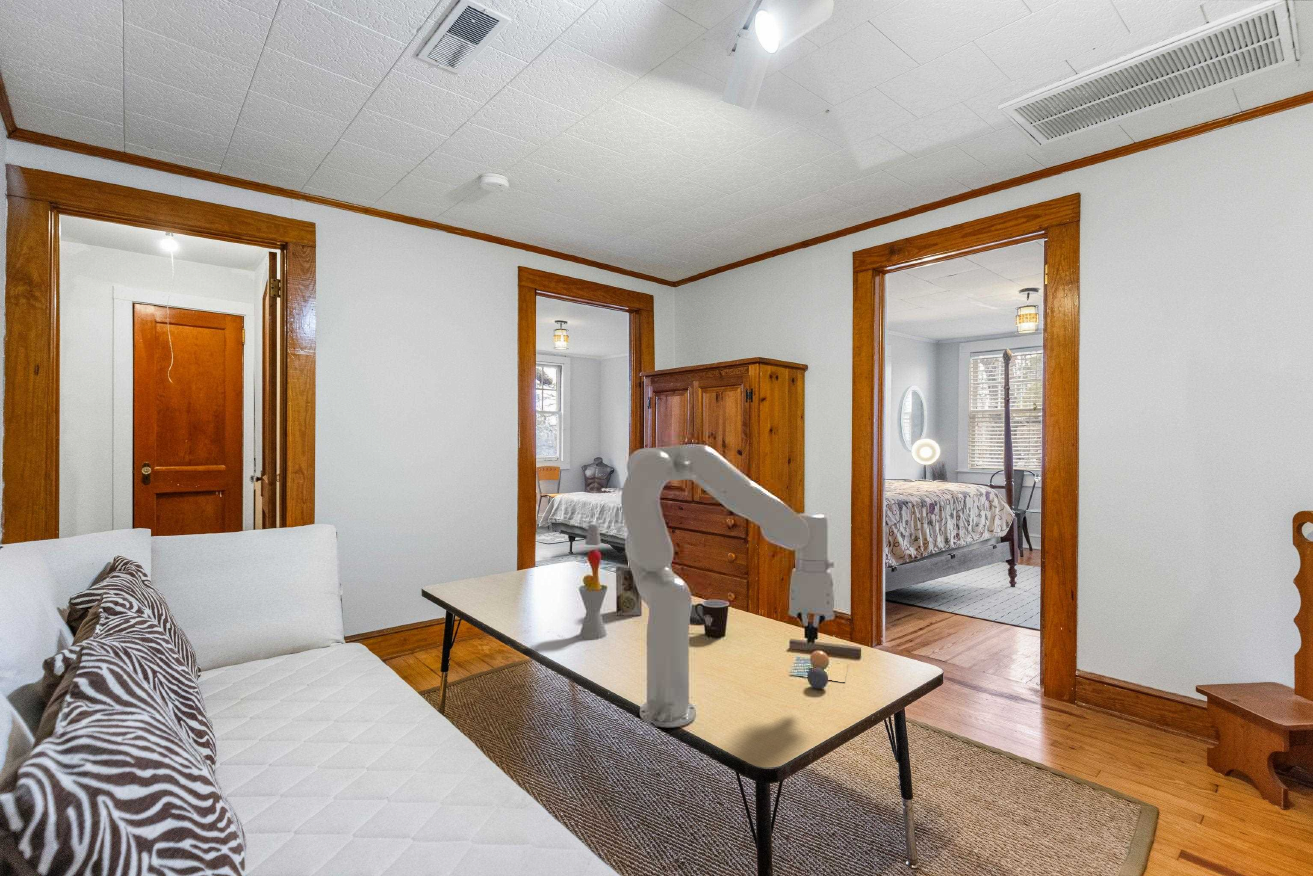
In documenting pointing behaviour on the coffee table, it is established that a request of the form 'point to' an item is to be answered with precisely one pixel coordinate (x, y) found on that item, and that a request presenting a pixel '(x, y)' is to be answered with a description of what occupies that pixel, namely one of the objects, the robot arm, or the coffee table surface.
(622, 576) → the coffee box
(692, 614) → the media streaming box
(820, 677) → the grey ball
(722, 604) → the coffee mug
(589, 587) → the lava lamp
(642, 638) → the coffee table surface
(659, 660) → the robot arm
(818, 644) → the wall
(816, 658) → the object ball
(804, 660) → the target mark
